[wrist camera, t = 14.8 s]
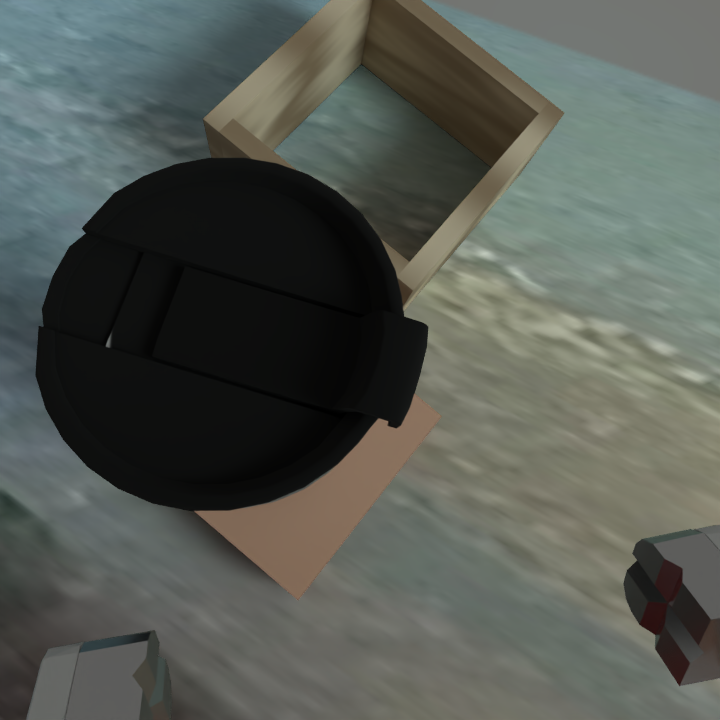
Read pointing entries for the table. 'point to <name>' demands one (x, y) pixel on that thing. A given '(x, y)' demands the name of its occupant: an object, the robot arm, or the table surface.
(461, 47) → the open wooden box frame
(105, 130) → the table surface
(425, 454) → the table surface
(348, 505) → the tile stand
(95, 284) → the travel mug
